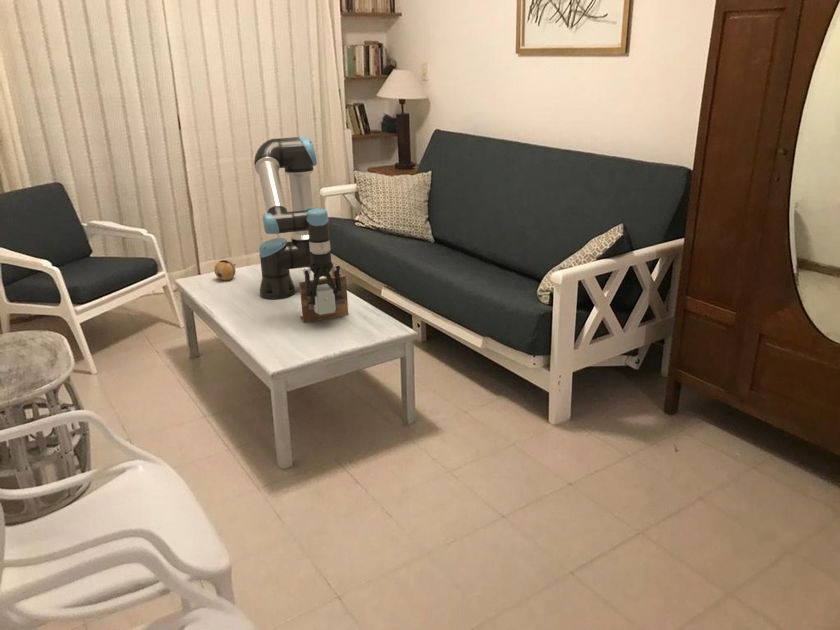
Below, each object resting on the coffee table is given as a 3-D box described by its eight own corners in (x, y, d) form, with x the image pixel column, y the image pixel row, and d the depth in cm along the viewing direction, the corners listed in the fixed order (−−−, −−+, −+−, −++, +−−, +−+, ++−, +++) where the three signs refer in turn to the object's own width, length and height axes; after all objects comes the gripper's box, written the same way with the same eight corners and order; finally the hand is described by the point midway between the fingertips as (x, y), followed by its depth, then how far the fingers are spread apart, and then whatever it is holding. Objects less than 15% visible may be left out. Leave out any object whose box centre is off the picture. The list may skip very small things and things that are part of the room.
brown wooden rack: (300, 318, 268) (296, 279, 262) (344, 310, 275) (341, 272, 269) (306, 325, 261) (302, 285, 255) (351, 317, 268) (348, 278, 262)
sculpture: (206, 267, 306) (224, 250, 318) (209, 283, 312) (227, 266, 323) (224, 271, 304) (242, 254, 315) (227, 288, 310) (244, 271, 321)
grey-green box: (313, 308, 263) (311, 286, 259) (328, 305, 265) (326, 283, 262) (320, 315, 255) (318, 293, 252) (335, 313, 257) (333, 290, 254)
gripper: (297, 257, 244) (303, 318, 252) (348, 250, 251) (352, 309, 260) (292, 252, 250) (297, 311, 259) (341, 245, 258) (345, 303, 266)
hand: (325, 310), depth 259 cm, fingers closed on grey-green box, 6 cm apart
